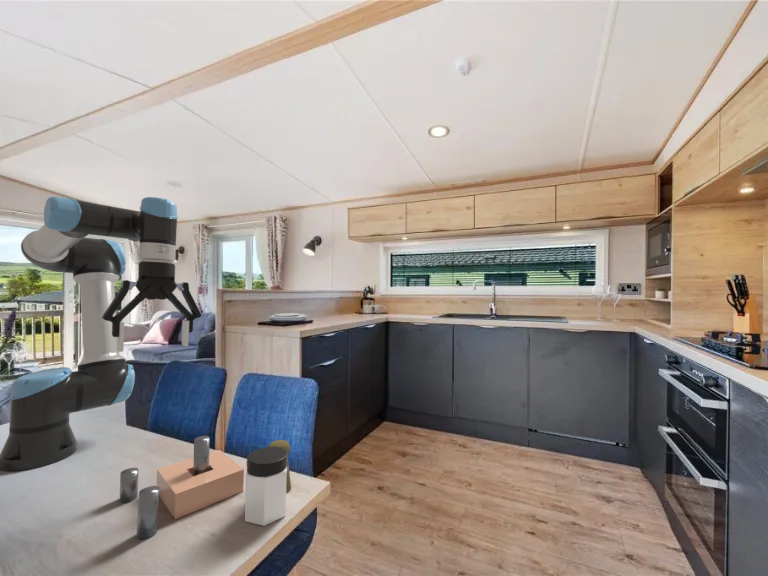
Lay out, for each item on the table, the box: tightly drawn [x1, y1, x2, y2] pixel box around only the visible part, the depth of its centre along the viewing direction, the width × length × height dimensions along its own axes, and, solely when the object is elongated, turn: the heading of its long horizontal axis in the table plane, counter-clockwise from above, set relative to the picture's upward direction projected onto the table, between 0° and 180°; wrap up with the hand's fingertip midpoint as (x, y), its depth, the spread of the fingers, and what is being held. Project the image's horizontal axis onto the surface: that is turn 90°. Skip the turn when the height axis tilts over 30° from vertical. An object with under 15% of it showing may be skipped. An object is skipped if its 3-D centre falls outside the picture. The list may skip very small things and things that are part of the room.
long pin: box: [193, 435, 211, 476], centre depth 79 cm, size 3×3×12 cm
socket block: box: [156, 449, 245, 520], centre depth 79 cm, size 14×14×5 cm
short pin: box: [119, 467, 139, 504], centre depth 76 cm, size 3×3×6 cm
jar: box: [244, 446, 289, 527], centre depth 72 cm, size 9×8×12 cm
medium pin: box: [135, 485, 160, 540], centre depth 65 cm, size 3×3×8 cm
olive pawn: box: [267, 439, 292, 494], centre depth 80 cm, size 6×6×11 cm
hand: (154, 348), depth 84 cm, fingers open, 13 cm apart
